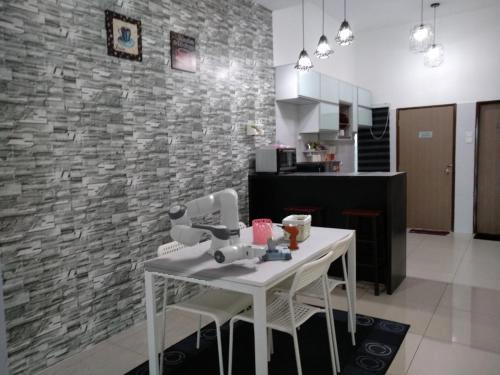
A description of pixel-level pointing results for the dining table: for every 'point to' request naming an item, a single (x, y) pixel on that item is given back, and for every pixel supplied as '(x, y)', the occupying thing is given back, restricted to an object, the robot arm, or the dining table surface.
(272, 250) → the motor
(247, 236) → the dining table surface
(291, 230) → the toy drill
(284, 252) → the chassis
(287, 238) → the storage basket
